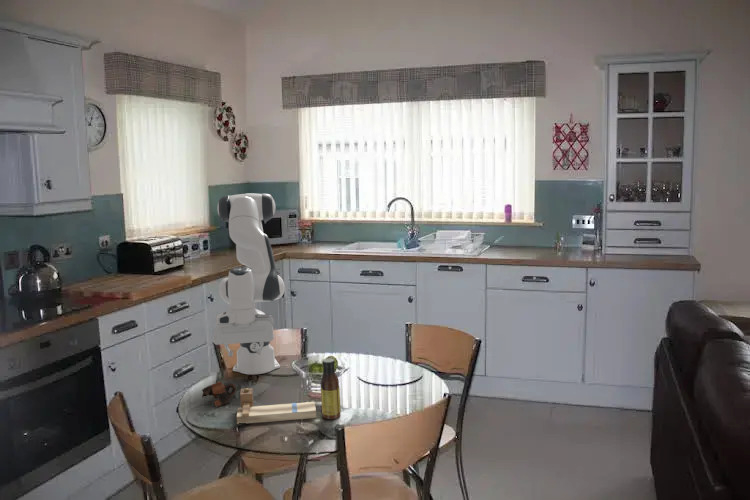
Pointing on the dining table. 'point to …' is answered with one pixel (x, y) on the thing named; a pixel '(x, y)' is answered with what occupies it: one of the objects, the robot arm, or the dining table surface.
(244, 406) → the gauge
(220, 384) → the rusty valve
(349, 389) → the dining table surface
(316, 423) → the dining table surface
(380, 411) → the dining table surface
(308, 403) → the board
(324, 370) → the sauce bottle
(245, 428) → the dining table surface
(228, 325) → the robot arm
